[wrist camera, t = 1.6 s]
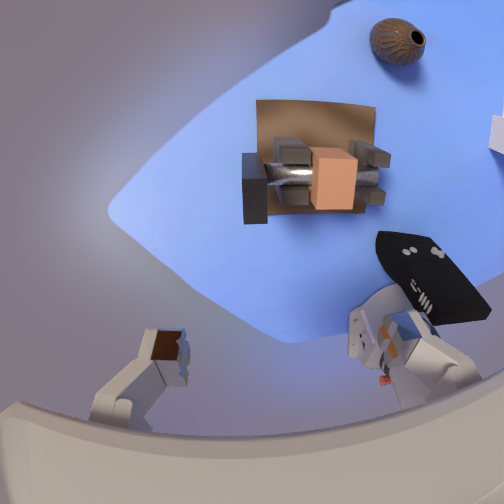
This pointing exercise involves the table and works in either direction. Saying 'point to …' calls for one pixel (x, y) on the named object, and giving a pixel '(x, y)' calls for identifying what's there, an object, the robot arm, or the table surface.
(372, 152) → the shaft stand
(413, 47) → the vase
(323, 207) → the block
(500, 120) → the corner bracket
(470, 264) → the table surface
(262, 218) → the shaft
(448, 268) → the handheld gaming console
